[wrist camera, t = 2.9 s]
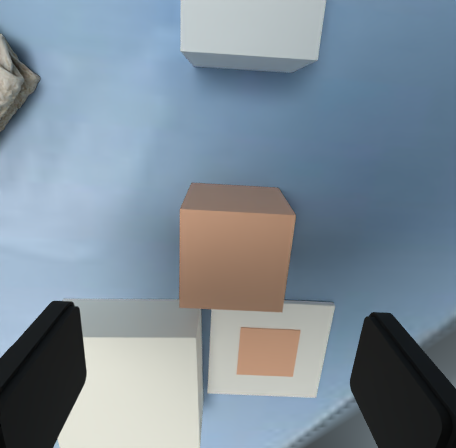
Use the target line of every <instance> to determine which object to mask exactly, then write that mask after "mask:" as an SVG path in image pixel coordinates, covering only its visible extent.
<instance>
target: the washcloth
mask: <svg viewBox="0 0 456 448" xmlns="http://www.w3.org/2000/svg"><path fill="white" fill-rule="evenodd" d="M39 81H40V76H39V75H37V74H35V73H34V72H32V71H31V70H30V69H29V68H28V67H26V66H25V65H24V64H23V63H21V62H20V61H19V60H18V56H17V55H16V54H15V53H14V52H13V50H12V49H11V47H10V45H9V44H8V42H7V41H6V39H5V38H4V36H3V35H2V34H0V132H1V131H2V130H4V129H5V126H6V124H7V123H8V122H9V120H10V119H11V118H12V115H14V114H15V113H16V112H17V110H18V109H20V107H21V106H22V104H23V103H24V102H25V101H26V99H27V97H28V96H29V94H31V93H33V92H34V90H35V89H36V86H37V84H38V82H39Z"/></svg>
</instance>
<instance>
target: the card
mask: <svg viewBox="0 0 456 448" xmlns="http://www.w3.org/2000/svg"><path fill="white" fill-rule="evenodd" d="M334 309H335V305H334V303H333V302H315V301H294V300H284V304H283V311H282V312H262V311H240V310H218V309H211V330H210V350H209V371H208V392H207V393H211V394H235V395H260V396H285V397H310V398H316V395H317V391H318V386H319V381H320V376H321V371H322V367H323V362H324V357H325V352H326V348H327V343H328V338H329V333H330V328H331V324H332V319H333V314H334Z"/></svg>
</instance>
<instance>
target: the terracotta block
mask: <svg viewBox="0 0 456 448" xmlns="http://www.w3.org/2000/svg"><path fill="white" fill-rule="evenodd" d="M295 219H296V214H295V213H294V211H293V210H292V208H291V207H290V205H289V204H288V202H287V200H286V199H285V197H284V196H283V194H282V193H281V191H280V189H279V188H275V187H258V186H240V185H223V184H205V183H191V185H190V187H189V189H188V192H187V194H186V196H185V199H184V201H183V203H182V205H181V208H180V274H179V308H196V309H218V310H240V311H262V312H282V311H283V304H284V297H285V290H286V283H287V276H288V269H289V262H290V255H291V248H292V240H293V233H294V226H295Z"/></svg>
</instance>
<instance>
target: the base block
mask: <svg viewBox="0 0 456 448" xmlns="http://www.w3.org/2000/svg"><path fill="white" fill-rule="evenodd" d="M62 301H72V302H73V303H74V305H75V306H78V307H79V309H80V316H81V325H82V334H83V343H84V352H85V361H86V370H87V376H86V381H85V384H84V386H83V388H82V390H81V392H80V394H79V396H78V398H77V400H76V402H75V404H74V406H73V408H72V410H71V412H70V414H69V416H68V418H67V420H66V422H65V424H64V426H63V428H62V430H61V432H60V434H59V436H58V442H59V446H60V448H200V440H201V427H202V414H203V360H202V318H201V309H196V308H179V299H63V300H62Z"/></svg>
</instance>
